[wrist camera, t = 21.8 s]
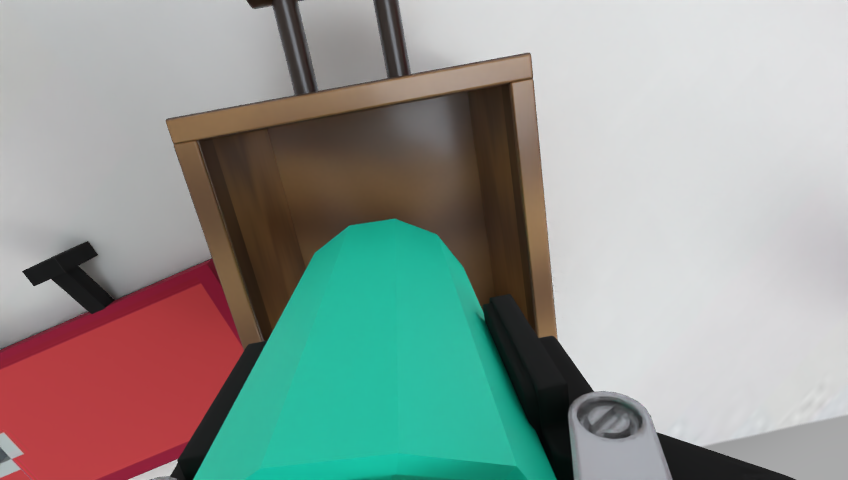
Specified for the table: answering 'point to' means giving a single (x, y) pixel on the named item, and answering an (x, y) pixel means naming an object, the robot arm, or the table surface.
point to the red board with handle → (114, 375)
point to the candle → (379, 375)
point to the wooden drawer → (372, 173)
